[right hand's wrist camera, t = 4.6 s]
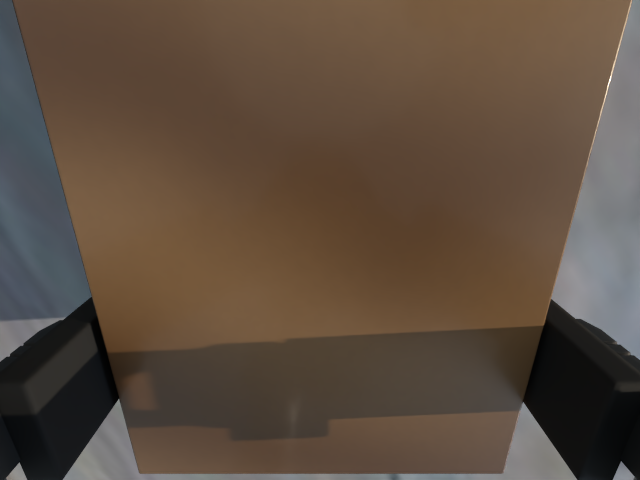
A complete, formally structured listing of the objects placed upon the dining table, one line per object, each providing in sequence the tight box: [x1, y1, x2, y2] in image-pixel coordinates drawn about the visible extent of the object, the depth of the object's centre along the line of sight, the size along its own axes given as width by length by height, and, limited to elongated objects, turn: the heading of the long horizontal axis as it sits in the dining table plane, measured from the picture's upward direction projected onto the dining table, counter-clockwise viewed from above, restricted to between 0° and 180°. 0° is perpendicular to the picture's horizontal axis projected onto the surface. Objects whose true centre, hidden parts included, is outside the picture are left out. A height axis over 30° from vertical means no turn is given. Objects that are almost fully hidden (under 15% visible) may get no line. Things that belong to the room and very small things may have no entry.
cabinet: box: [12, 0, 632, 474], centre depth 11 cm, size 20×11×10 cm, turn 0°
